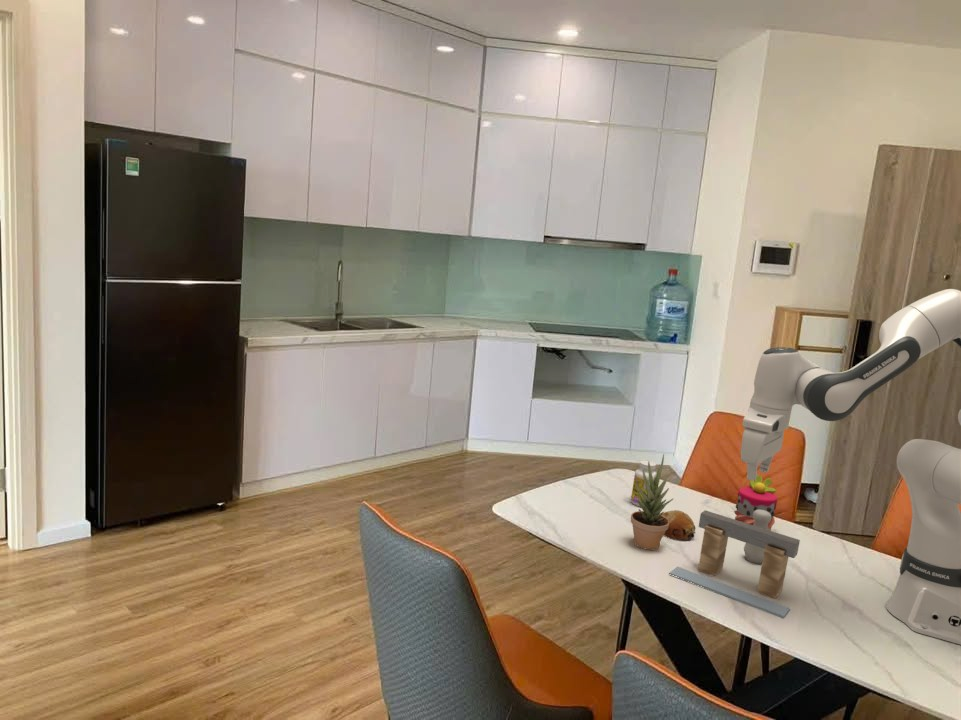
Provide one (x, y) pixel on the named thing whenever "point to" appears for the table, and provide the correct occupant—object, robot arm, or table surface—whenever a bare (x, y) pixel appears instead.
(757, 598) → the grey flat bar
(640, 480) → the supplement bottle
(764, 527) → the salt shaker
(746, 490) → the cake
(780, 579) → the stand near
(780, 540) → the bar
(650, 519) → the potted plant
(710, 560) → the stand far
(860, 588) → the table surface
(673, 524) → the bread roll
